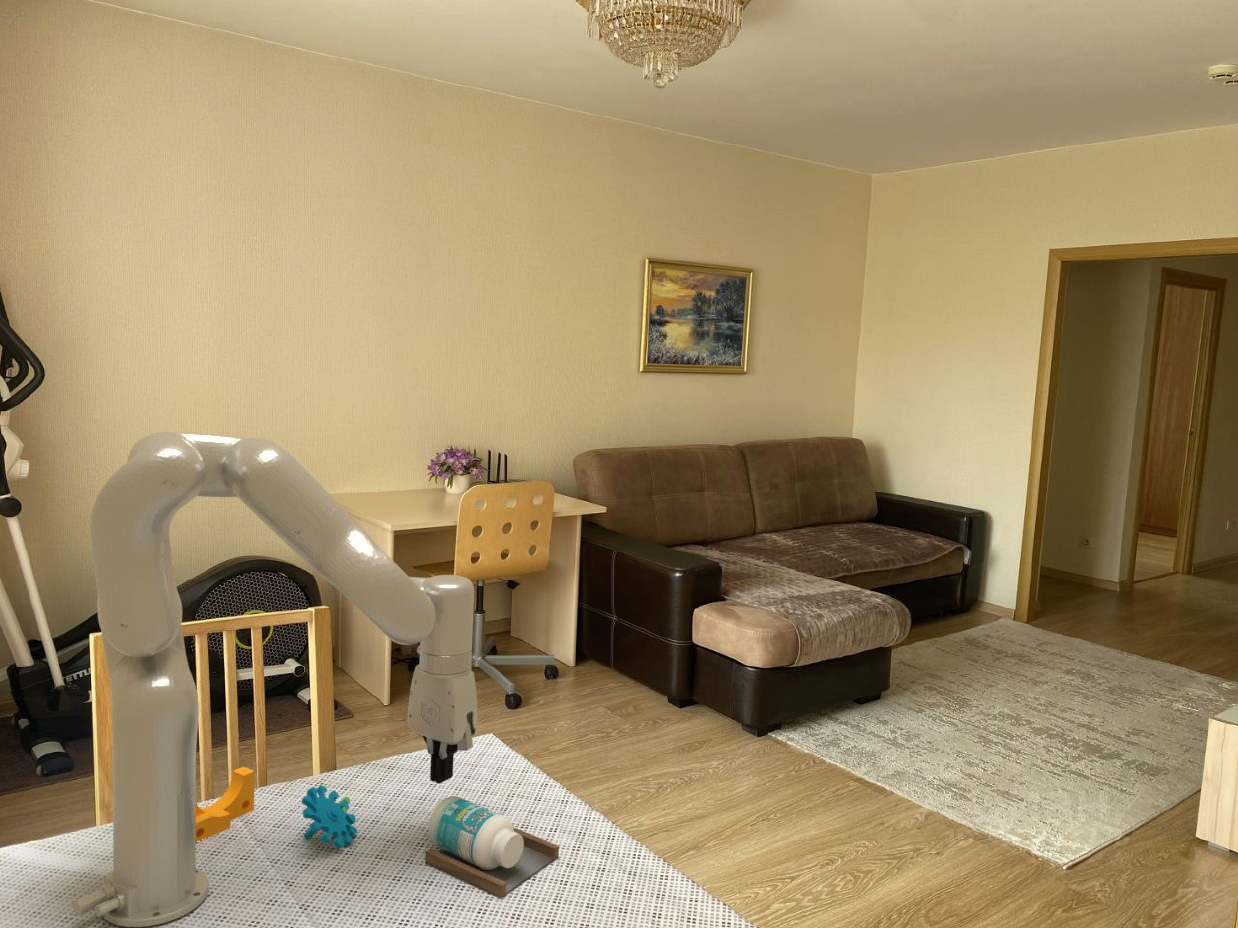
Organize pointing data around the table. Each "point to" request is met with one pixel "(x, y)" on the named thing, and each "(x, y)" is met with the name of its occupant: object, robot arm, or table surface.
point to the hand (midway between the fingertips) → (441, 778)
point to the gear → (329, 817)
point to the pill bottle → (474, 834)
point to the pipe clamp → (227, 805)
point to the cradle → (500, 878)
